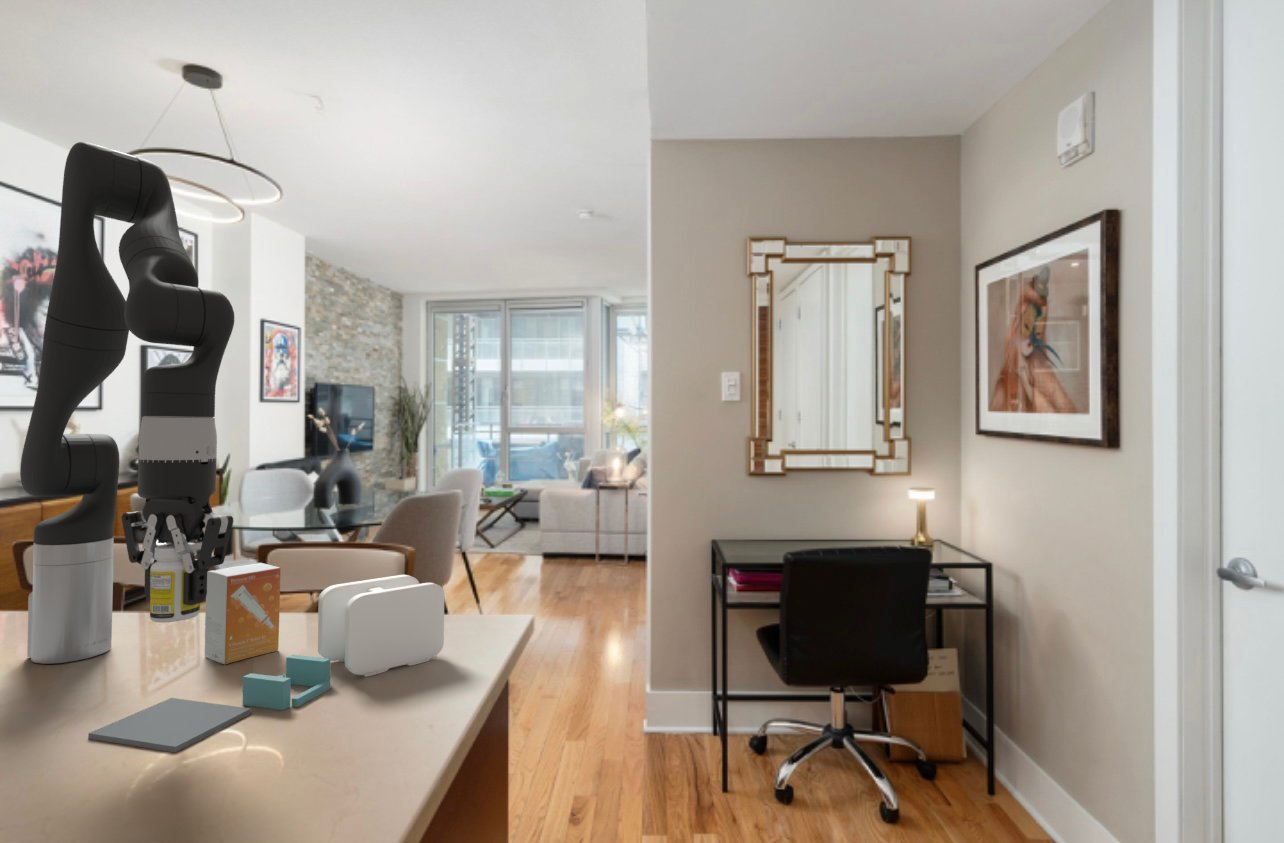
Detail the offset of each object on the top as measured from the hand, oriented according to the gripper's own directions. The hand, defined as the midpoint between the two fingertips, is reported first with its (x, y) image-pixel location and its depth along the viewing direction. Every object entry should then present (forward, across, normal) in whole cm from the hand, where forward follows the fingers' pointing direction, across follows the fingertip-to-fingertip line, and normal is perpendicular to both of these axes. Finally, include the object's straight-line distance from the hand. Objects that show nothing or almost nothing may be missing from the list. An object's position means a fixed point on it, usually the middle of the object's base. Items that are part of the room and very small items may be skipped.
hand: (175, 601), depth 78 cm
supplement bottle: (+2, 0, 0) cm, 2 cm away
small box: (+15, -12, +22) cm, 29 cm away
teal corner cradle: (+14, +6, +11) cm, 19 cm away
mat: (+14, 0, 0) cm, 14 cm away
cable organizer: (+15, +10, +25) cm, 31 cm away
